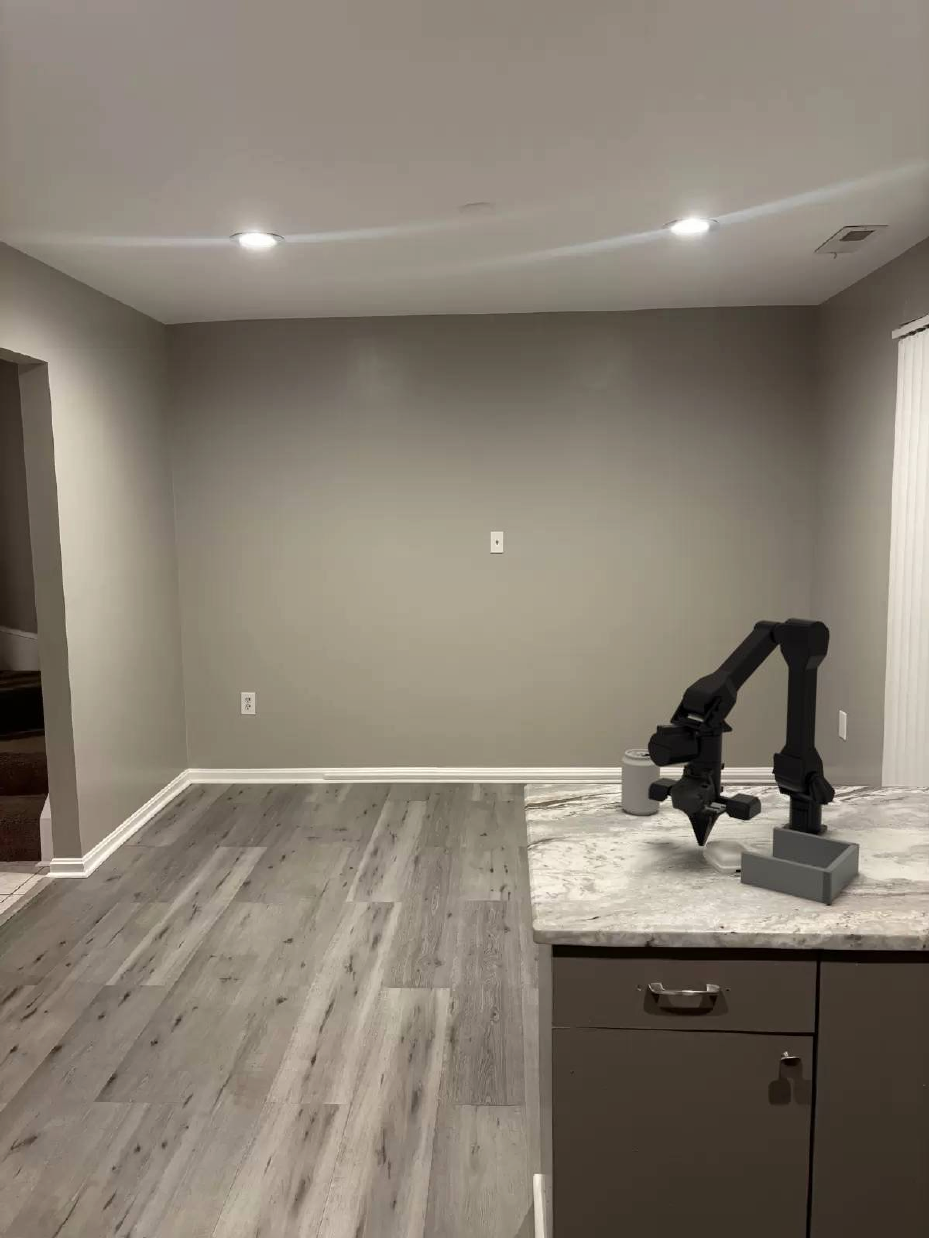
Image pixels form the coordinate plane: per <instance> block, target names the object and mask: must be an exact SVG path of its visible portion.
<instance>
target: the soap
mask: <svg viewBox="0 0 929 1238" xmlns="http://www.w3.org/2000/svg"><path fill="white" fill-rule="evenodd" d="M743 851H747V852H750V851H749V850H748V849H747V848H746V847H745V846H743V845H742V844H741V843H739V842H738V841H737V840H736V839H724V840H723V839H722V840H709V841H706V843H705V849H704V850H703V851H702V852H703V853H702V854H703V857H704V858H705V860H706V861H707V862H708V863H709V864H710V865H711V866H712V867H713V868H714V869H715V870H716V871H718V872H719V873H721V874H733V873H734V874H735V873H736V871H737V870H741V852H743Z"/></svg>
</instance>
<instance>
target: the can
mask: <svg viewBox="0 0 929 1238" xmlns="http://www.w3.org/2000/svg"><path fill="white" fill-rule="evenodd" d="M624 754H625V755H624V756H623V757H622V759H621V793H620V794H621V795H620V796H621V797H620V798H621V799H620V800H621V807H622V809H624V810H625V812H626V813H628V814H631V815H635V816H649V815H653V814H655V813H656V811H658V810H659V809H660V806H661V805H660V803H661V802H659V801H655V800H650V799H648V788H649V785H650V784H651V783H653V782H655V781H657V780H659V779H661V767H659V766H657V765H655V764H654V763H653V761H652V760H651V758H650V756H649V752H648V749H646V748H634V749H628V750H626V751H625V752H624Z"/></svg>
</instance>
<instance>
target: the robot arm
mask: <svg viewBox="0 0 929 1238" xmlns="http://www.w3.org/2000/svg"><path fill="white" fill-rule="evenodd" d="M830 636H831V635H830V629H829V627H827V625H826V624H825V622H823V621H819V620H813V619H805V618H798V617H797V618H796V617H790V618H788V619H786V620H785V621H784V622H780V621H775V620H774V621H773V620H768V619H767V620H766V619H762V620H760V621H759V620H758V621H757V622H755V624H754V626H753V628H752V631H751V632H750V633H749V634H748V635H747V636H746V637H745V638H744V639H743V640H742V642H741V643H740V644H739V645H738V646H737V647H736V649H734V650H733V652H732V653H730V655H729V656H728V657H727V658H726V659H725V660H724V662H723V663H721V665H720V666H719V667H718V669H716V670H715V671H714V672H712V673H710V674H708V675H704V676H702V677H700V678H699V679H697V680H696V681H695V682H694V683H692V684H691V685H690V686H689V687H688V688H686V690H685V692H683V695H682V699H681V701H680V702H679V704H678V706H677V708H676V709H675V711H674V713H673V715H672V717H671V719H670V720H669V724H667V725H666V724H659V725H656V732H655V733H653V734H652V735H651V736H650V738H649V740H648V742H647V750H648V752H649V756H650V758H651V760H652V761H653V763H654V764H655V765H657V766H659V767H660V768H662V767H668V766H675V765H681V764H684V765H683V769H682V775H681V778H679V779H678V780H677V779H673V778H667V777H660V779H659V780H657V781H655V782H653V783H651V784H650V785H649V788H648V799H650V800H655V801H659V802H660V803H663V802H665V801H666V800H667V799H668V797H670V799H671V806H672V808H673V809H675V810H678V811H681V812H683V813H684V814H685V815H686V816H687V818H688V820H689V822H690V825H691V827H692V830H693V833H694V836H695V839H696V843H697V845H698V846H699V847H701V848H702V847H704V846H706V844H707V842H708V839H709V836H710V835H711V833H712V830H713V827H715V824H716V822H717V821H718V819H719V817H720V816H721V815H723V814H727V816H728V817H729V818H732V819H735V820H741V821H750V820H752V819H753V818H755V817H757V816H759V814H761V813H762V801H761V800H760V799H759V796H757V795H750V794H747V793H746V794H745V793H742V792H738V793H735V794H734V795H733V796H731V797H728V796H725V795H721V794H722V793H724V787H725V786H723V785H722V784H721V783H722V771H723V770H725V762H722V759H723V757H722V755H723V735H724V733H731V732H733V727H732V726H731V725H730V724H728V723H727V722H726V718H727V717H729V715H730V713H731V711H732V710H733V708H734V706H735V705H736V704H737V700H738V692H739V691H740V689H741V687H742V686H744V684H745V683H746V682H747V680H749V678H750V677H751V676H752V675H753V674H754V673H755V672H756V671H757V669H759V668H760V666H761V665H762V664H763V663H764V661H765V660H766V659H767V658H768V657H769V656H770V655H771V654H772V653H773V652H774V651H775V649H777V647H778V646H779V648H780V653H781V656H782V657H783V659H784V662H785V663H786V665H787V668H788V670H787V672H788V673H787V674H788V675H787V699H786V701H787V703H786V729H785V730H786V733H785V735H786V736H785V743H784V746H783V747H782V749H781V750H780V751H779V752H774V754H773V756H772V759H773V761H772V762H773V766H772V767H773V768H772V772H771V774H772V775H774V780H775V781H774V782H775V783H777V788H778V791H779V793H780V794H781V795H785V796H788V797H789V806H788V807H789V809H788V810H789V811H788V823H786V824H785V825H784V826H782V827H781V828H783V829H788V830H793V831H798V832H803V833H808V834H813V835H817V836H821V835H822V834H823V833H824V832H825V831H826V830H827V829H828V827H829V826H828V825H827V824H822V823H823V822H822V820H823V818H822V816H823V815H822V814H823V806H827V805H829V803H832V802H833V801H834V798H835V794H836V789H835V788H834V787H833V786H832V785H831V784H830V782H829V781H828V780H827V779H826V778H825V773H824V772H825V771H824V763H823V760H822V758H821V756H820V753H819V752H818V750H817V748H816V743H815V741H816V715H817V714H816V712H817V710H816V709H817V691H818V690H817V689H818V685H817V684H818V671H819V669H818V668H819V667H820V665H821V664H822V663H823V661H824V660H825V658H826V657H827V655H828V652H829V651H828V649H829V643H830V638H831V637H830ZM689 716H690V717H689ZM694 718H695V719H694ZM685 763H686V764H685Z"/></svg>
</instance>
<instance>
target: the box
mask: <svg viewBox="0 0 929 1238" xmlns="http://www.w3.org/2000/svg"><path fill="white" fill-rule="evenodd" d="M771 855H772V856H769V855H764V854H760V853H757V852H756V853H755V852H751V851H749V852H747V851H743V852H741V869H740V883H743V884H746V885H751V886H754V887H759V888H763V889H767V890H770V891H775V892H779V893H783V894H787V895H791V896H794V897H799V898H803V899H807V900H811V901H814V902H819V903H824V904H827V905H830V904H831V903H832V901H834V900H835V899H836V897H838V895H839V894H840V893H841V892H842V891H843V890H844V889H845V888H846V887H847V886H848V885H849V884H850V883H851V882H852V881H853V879H854V878H855V877H856V876H857V875H858V874H859V862H860V843H856V842H851V841H846V840H842V839H836V838H831V837H828V836H827V837H826V836H821V835H819V836H817V835H813V834H808V833H803V832H798V831H793V830H788V829H783V828H782V827H777V826H774V827H773V828H772V853H771ZM773 856H774V857H773ZM800 862H801V863H800ZM804 863H805V864H804ZM818 866H819V867H818Z"/></svg>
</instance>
